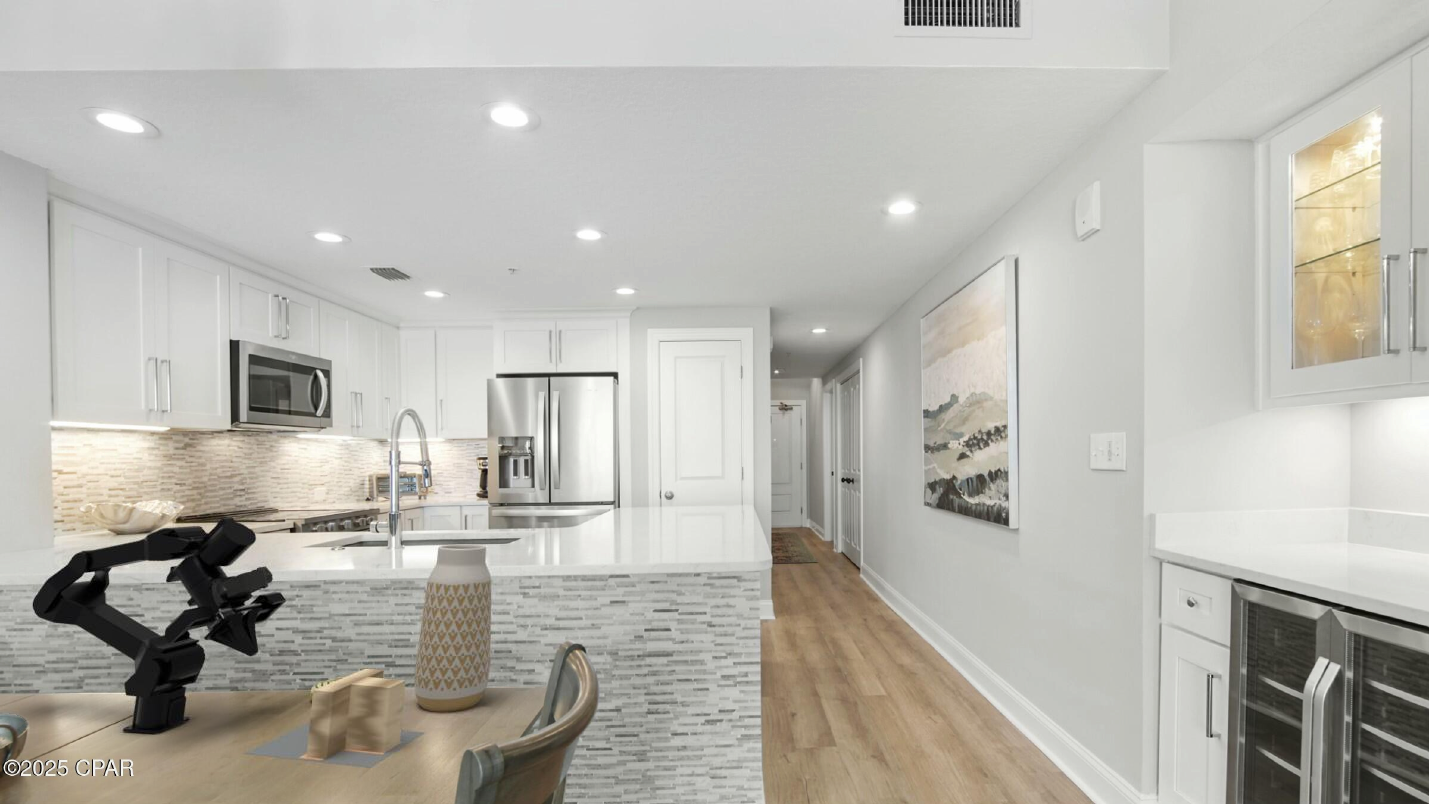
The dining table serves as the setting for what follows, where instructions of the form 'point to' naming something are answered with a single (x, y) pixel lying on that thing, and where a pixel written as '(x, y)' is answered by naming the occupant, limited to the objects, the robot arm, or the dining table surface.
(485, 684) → the vase
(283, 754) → the slate mat
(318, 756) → the maple T block
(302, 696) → the dining table surface
